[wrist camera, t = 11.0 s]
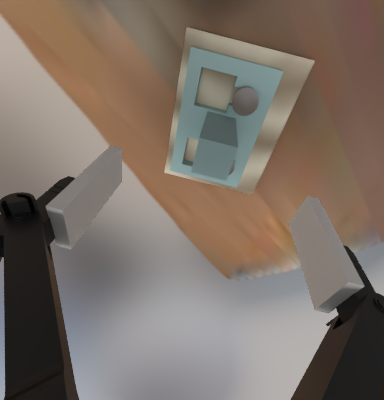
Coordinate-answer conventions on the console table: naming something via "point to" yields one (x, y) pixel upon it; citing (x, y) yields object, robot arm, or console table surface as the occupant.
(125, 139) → the console table surface
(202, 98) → the boss board
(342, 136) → the console table surface
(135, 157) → the console table surface
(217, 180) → the panel
